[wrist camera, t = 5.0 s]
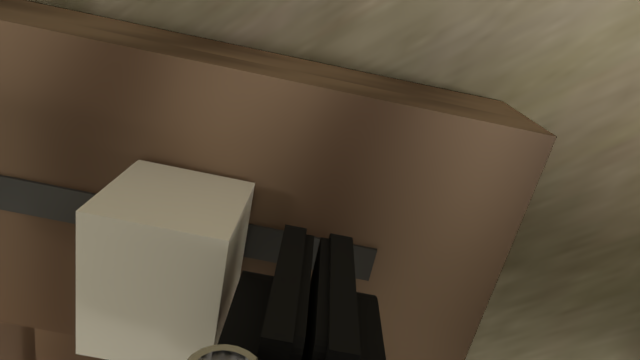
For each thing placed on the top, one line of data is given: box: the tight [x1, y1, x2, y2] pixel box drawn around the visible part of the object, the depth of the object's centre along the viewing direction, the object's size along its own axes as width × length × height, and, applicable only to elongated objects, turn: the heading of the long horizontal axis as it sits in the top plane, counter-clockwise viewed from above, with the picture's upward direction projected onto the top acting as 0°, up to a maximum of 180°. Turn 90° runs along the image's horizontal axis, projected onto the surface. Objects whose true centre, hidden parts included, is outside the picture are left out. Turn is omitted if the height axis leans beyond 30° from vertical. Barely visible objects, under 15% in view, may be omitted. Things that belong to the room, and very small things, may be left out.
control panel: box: [0, 0, 557, 360], centre depth 16 cm, size 22×16×4 cm
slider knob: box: [76, 160, 255, 360], centre depth 11 cm, size 3×4×3 cm
